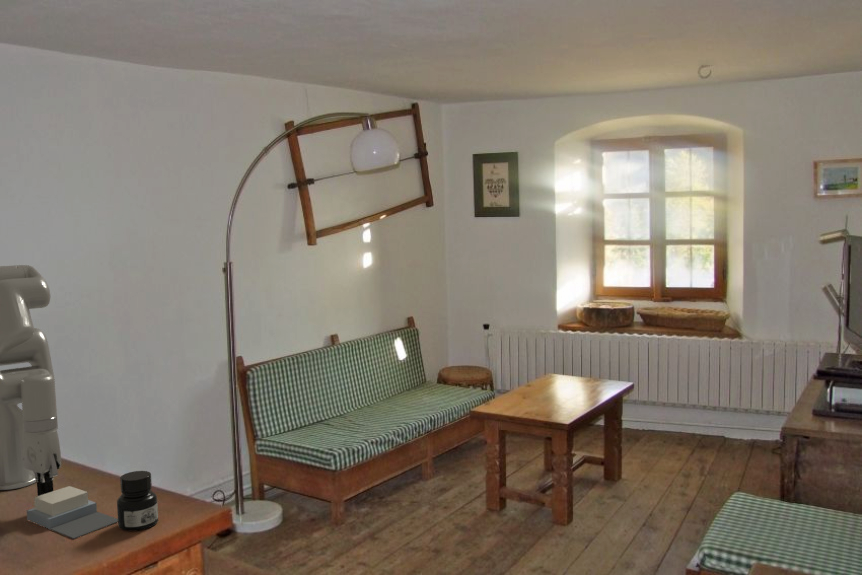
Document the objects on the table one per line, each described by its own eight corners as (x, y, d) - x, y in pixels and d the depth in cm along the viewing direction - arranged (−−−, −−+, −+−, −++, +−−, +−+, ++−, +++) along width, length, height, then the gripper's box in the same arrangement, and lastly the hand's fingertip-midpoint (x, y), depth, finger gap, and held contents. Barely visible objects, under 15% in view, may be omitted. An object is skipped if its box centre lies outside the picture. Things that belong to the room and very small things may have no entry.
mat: (50, 529, 180) (50, 528, 180) (97, 512, 190) (97, 511, 190) (73, 539, 175) (73, 538, 175) (121, 521, 185) (120, 520, 185)
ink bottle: (128, 536, 176) (125, 485, 175) (109, 526, 182) (106, 477, 181) (167, 522, 184) (164, 473, 182) (147, 513, 189) (145, 466, 188)
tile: (34, 509, 187) (34, 497, 186) (70, 497, 194) (69, 485, 194) (53, 516, 182) (52, 504, 182) (88, 503, 190) (87, 492, 189)
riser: (27, 520, 186) (26, 510, 186) (74, 504, 196) (73, 494, 196) (49, 529, 181) (49, 519, 180) (96, 512, 190) (96, 502, 190)
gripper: (9, 423, 191) (15, 495, 193) (42, 432, 183) (47, 507, 185) (39, 417, 197) (44, 486, 199) (71, 425, 189) (76, 497, 191)
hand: (45, 496), depth 192 cm, fingers closed
